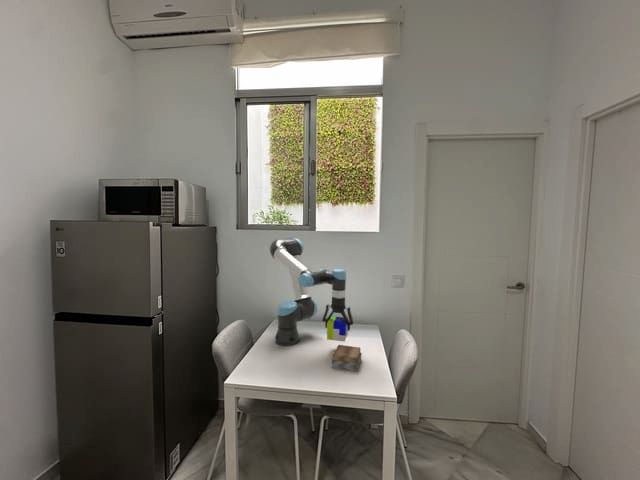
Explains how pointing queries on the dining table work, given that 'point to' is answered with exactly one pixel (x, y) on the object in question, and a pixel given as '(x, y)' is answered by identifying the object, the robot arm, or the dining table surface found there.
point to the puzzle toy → (336, 329)
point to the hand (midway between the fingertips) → (337, 334)
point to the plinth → (346, 365)
